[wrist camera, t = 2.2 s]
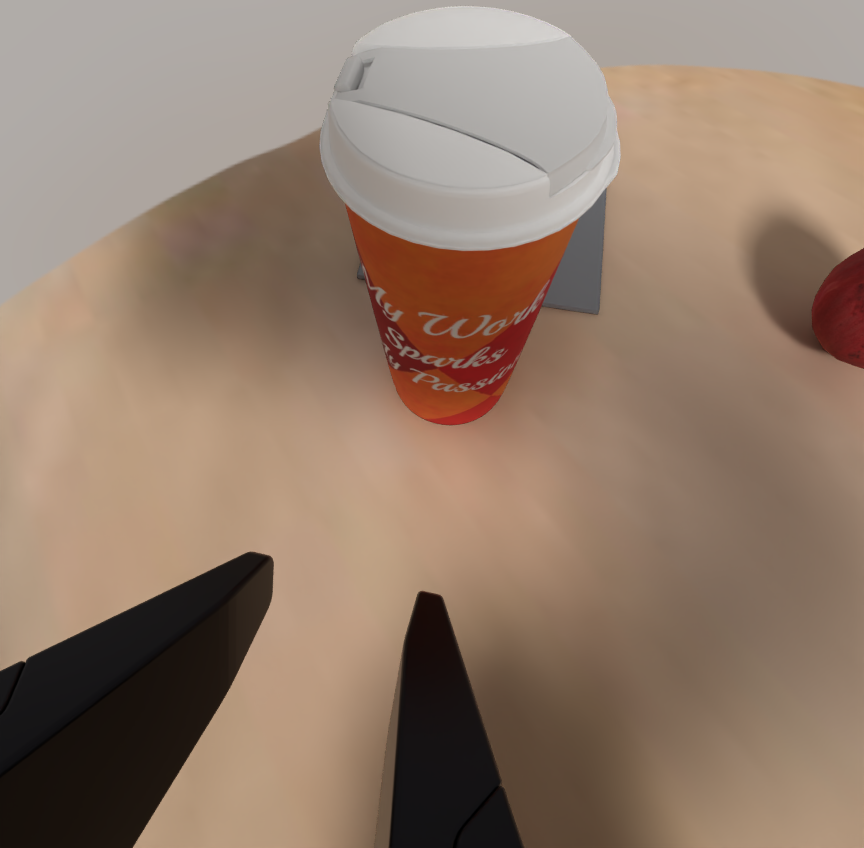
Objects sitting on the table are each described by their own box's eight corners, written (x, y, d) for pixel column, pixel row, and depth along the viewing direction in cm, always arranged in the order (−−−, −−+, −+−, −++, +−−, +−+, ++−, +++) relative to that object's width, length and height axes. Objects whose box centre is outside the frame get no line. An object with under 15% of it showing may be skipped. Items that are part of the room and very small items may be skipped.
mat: (605, 180, 30) (607, 176, 30) (597, 314, 26) (599, 310, 26) (396, 152, 31) (395, 148, 31) (357, 278, 27) (357, 274, 27)
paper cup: (354, 429, 23) (262, 173, 11) (392, 300, 26) (356, -22, 14) (518, 461, 23) (632, 231, 10) (538, 325, 26) (645, 13, 13)
